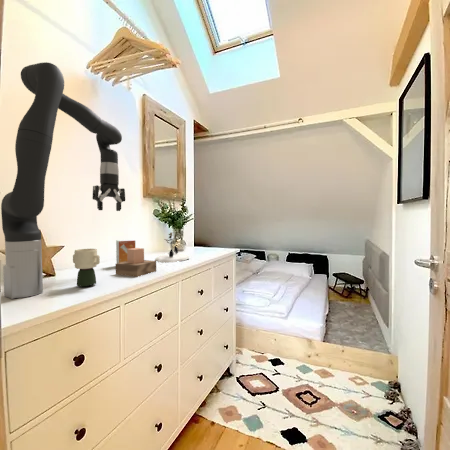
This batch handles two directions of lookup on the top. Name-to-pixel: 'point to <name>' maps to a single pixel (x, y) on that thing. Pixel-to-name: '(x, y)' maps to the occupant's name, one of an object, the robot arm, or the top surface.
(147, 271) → the walnut block
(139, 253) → the terracotta block
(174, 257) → the figurine
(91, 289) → the top surface
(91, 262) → the character mug
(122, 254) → the small box
